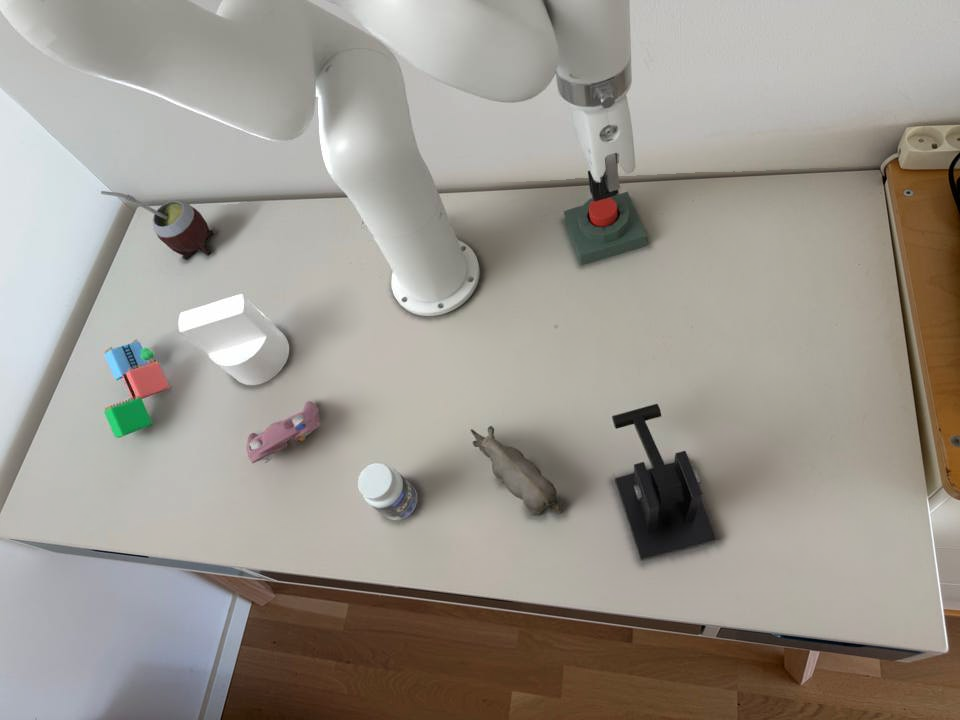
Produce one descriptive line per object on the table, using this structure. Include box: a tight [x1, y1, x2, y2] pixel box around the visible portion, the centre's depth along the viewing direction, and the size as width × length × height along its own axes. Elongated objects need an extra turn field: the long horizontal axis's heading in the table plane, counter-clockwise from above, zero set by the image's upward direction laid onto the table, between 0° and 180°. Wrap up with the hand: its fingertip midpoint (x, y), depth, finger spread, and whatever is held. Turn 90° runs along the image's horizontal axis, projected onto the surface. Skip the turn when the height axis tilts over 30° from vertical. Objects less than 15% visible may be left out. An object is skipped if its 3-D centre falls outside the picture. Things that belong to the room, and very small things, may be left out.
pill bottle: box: [357, 462, 418, 521], centre depth 74 cm, size 5×5×8 cm
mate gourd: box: [100, 190, 215, 261], centre depth 98 cm, size 8×8×15 cm
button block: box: [563, 191, 648, 266], centre depth 87 cm, size 8×9×4 cm
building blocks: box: [103, 338, 170, 439], centre depth 90 cm, size 8×8×12 cm
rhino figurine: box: [470, 425, 564, 517], centre depth 73 cm, size 4×14×6 cm, turn 41°
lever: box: [611, 403, 684, 506], centre depth 66 cm, size 12×5×2 cm, turn 12°
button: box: [589, 198, 617, 227], centre depth 85 cm, size 4×4×2 cm
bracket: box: [614, 450, 717, 562], centre depth 66 cm, size 9×8×12 cm
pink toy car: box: [245, 400, 320, 464], centre depth 82 cm, size 10×5×7 cm, turn 118°
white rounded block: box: [177, 293, 290, 386], centre depth 87 cm, size 9×9×12 cm
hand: (604, 193), depth 82 cm, fingers closed
